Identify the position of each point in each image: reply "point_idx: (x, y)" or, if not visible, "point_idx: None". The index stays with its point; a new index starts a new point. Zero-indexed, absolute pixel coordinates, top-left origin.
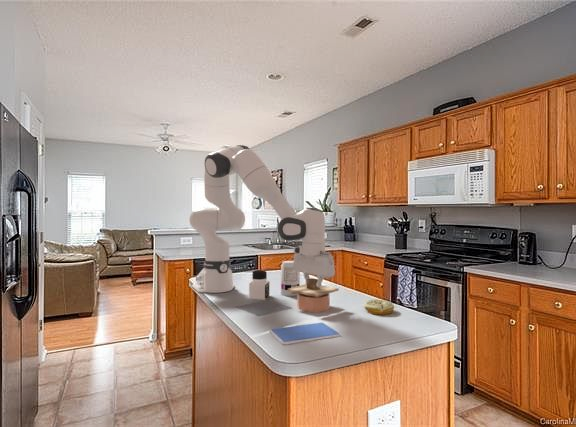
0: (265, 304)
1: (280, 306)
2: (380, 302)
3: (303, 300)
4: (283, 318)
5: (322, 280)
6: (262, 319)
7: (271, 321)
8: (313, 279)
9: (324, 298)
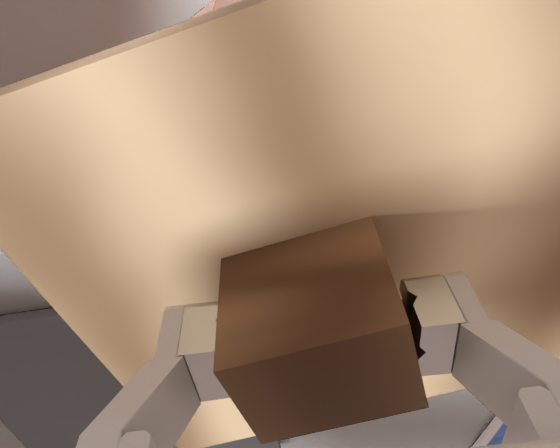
0: (63, 379)
1: None
2: None
3: None
4: None
5: (538, 350)
6: (312, 438)
7: (364, 423)
8: (328, 389)
9: None
